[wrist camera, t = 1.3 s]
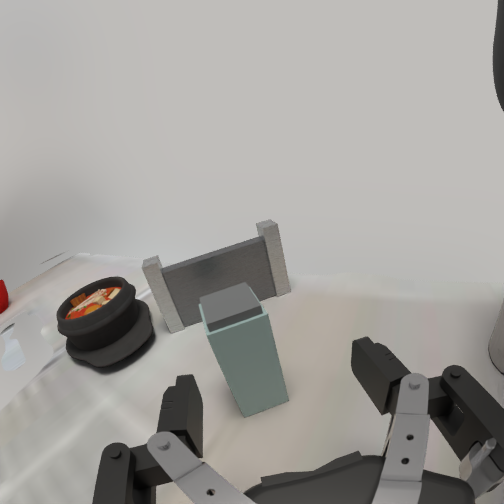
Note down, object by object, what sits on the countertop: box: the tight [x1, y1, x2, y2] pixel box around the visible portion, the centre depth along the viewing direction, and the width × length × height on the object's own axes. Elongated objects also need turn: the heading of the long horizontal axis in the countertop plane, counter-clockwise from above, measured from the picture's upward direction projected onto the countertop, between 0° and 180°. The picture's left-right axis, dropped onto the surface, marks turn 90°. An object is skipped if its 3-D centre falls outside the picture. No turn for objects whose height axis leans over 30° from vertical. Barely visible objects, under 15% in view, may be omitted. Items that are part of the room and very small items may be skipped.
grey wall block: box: [142, 220, 291, 333], centre depth 43 cm, size 21×6×12 cm, turn 107°
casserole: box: [57, 277, 153, 367], centre depth 42 cm, size 25×19×8 cm
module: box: [199, 282, 289, 418], centre depth 25 cm, size 5×5×13 cm
